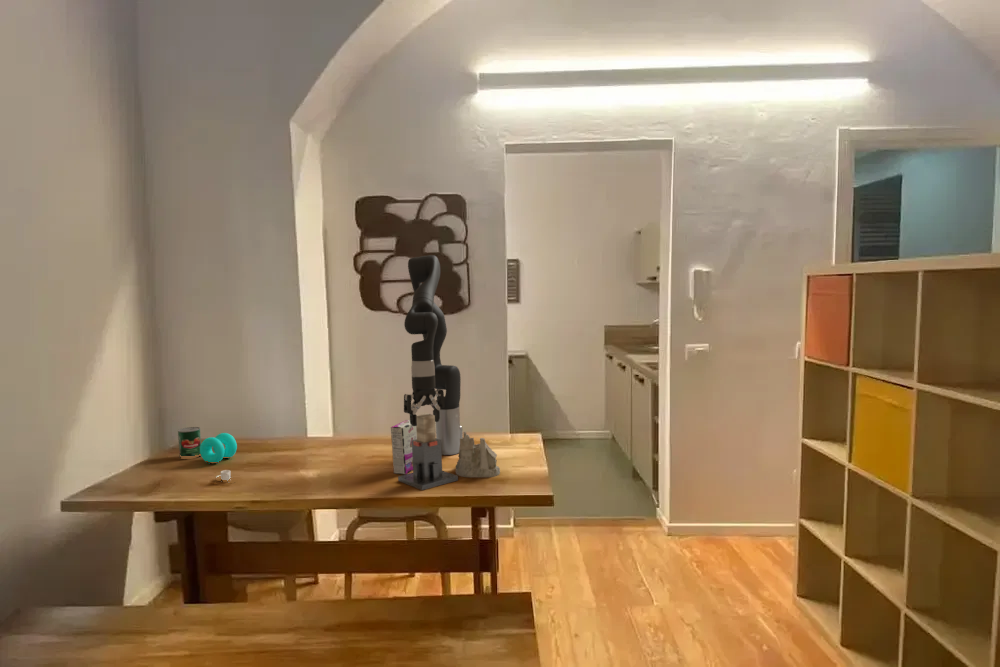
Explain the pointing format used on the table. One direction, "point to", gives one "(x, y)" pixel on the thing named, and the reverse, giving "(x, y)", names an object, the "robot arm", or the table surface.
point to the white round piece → (225, 475)
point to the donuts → (218, 447)
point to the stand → (427, 466)
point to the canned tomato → (189, 441)
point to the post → (426, 428)
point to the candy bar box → (403, 446)
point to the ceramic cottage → (476, 459)
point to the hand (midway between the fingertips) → (425, 423)
